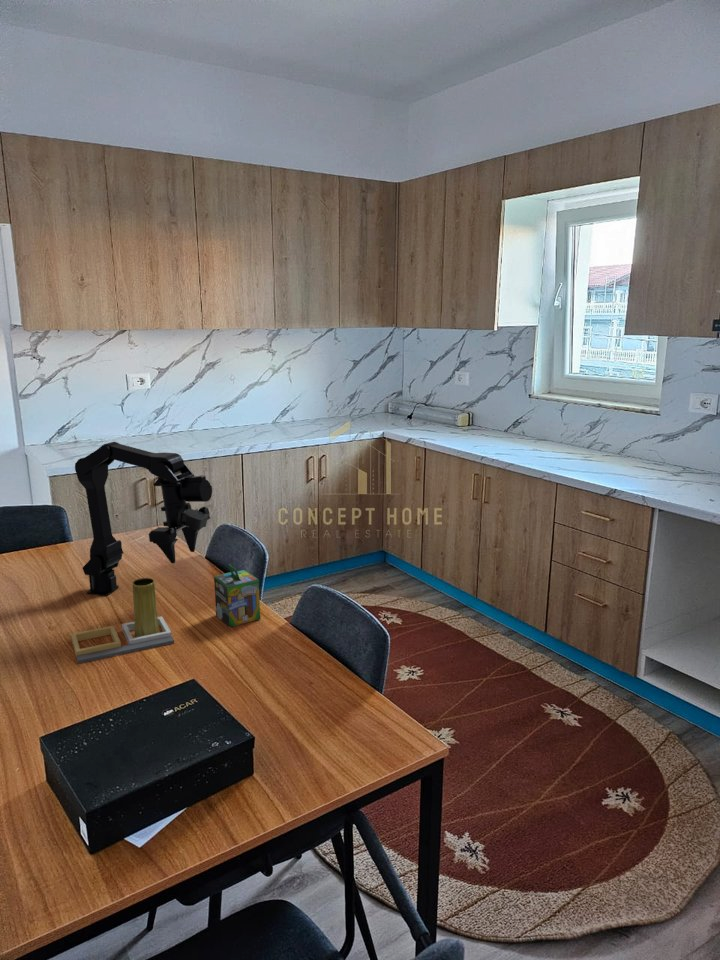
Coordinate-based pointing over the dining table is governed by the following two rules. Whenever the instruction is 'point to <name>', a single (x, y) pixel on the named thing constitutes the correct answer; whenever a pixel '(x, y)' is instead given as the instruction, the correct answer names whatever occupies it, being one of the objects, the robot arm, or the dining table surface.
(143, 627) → the vase
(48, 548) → the dining table surface
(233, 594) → the chalk box
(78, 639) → the socket panel
